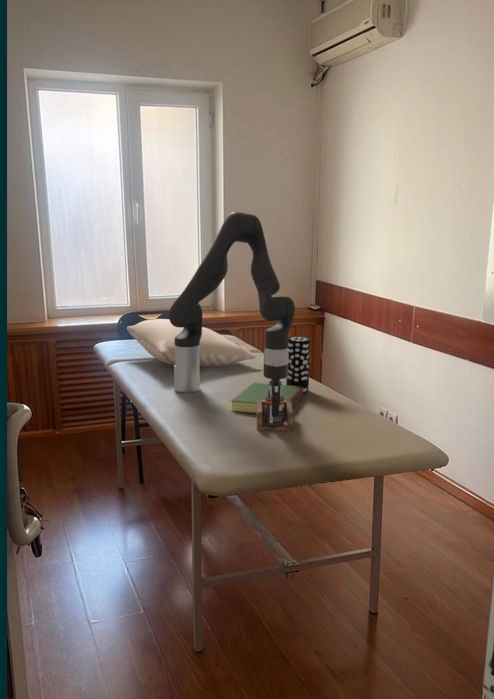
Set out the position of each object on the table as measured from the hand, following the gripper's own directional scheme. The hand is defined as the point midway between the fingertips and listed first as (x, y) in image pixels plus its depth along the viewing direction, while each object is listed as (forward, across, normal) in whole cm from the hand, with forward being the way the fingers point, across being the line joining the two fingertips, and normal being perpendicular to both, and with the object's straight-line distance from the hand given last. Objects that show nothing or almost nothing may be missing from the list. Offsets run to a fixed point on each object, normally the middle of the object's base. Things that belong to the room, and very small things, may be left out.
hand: (274, 411), depth 191 cm
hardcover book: (+5, -23, -1) cm, 23 cm away
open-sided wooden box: (+5, -2, 0) cm, 5 cm away
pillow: (+5, -76, -34) cm, 84 cm away
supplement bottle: (+4, 0, 0) cm, 4 cm away
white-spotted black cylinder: (+5, -38, +10) cm, 39 cm away
